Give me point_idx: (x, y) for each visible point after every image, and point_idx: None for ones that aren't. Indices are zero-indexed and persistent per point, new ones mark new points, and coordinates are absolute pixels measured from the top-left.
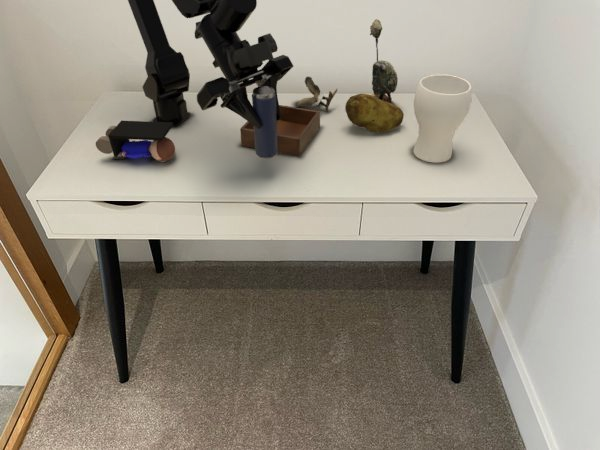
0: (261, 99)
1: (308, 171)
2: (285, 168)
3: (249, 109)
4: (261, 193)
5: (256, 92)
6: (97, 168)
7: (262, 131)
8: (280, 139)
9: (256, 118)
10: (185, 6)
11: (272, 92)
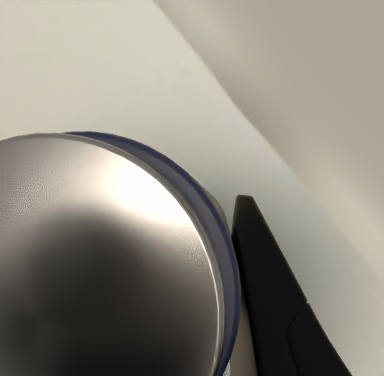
0: (205, 222)
1: None
2: None
3: (301, 309)
4: (281, 171)
5: (173, 364)
6: None
7: (222, 211)
8: None
9: (263, 234)
10: None
11: (14, 146)
